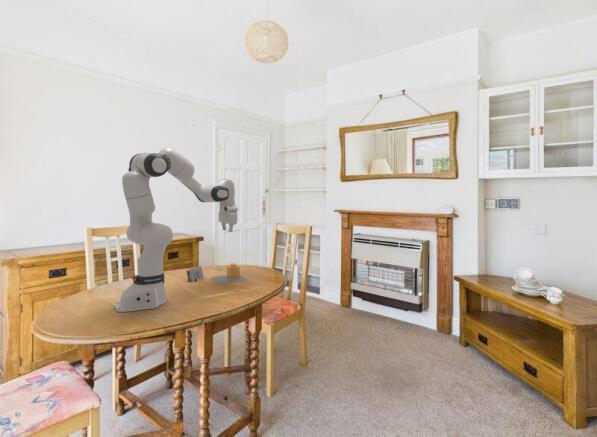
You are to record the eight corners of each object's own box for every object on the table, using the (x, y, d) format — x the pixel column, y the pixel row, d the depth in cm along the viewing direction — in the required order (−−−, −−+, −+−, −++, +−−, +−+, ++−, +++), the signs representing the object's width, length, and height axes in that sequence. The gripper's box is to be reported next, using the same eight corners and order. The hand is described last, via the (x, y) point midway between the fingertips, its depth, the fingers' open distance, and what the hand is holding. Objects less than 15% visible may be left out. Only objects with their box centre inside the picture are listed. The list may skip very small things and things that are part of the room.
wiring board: (219, 286, 181) (219, 277, 180) (210, 280, 194) (209, 271, 193) (248, 281, 191) (248, 273, 190) (237, 276, 204) (237, 267, 203)
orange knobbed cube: (230, 278, 193) (230, 265, 192) (226, 276, 198) (226, 263, 197) (239, 277, 196) (239, 264, 195) (235, 274, 201) (235, 262, 200)
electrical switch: (192, 285, 183) (191, 269, 183) (186, 284, 186) (185, 269, 186) (204, 281, 192) (203, 266, 191) (198, 280, 194) (197, 265, 194)
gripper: (215, 206, 192) (216, 229, 193) (228, 208, 175) (228, 233, 176) (225, 206, 195) (225, 228, 197) (239, 208, 179) (239, 232, 180)
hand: (227, 231), depth 186 cm, fingers open, 8 cm apart
